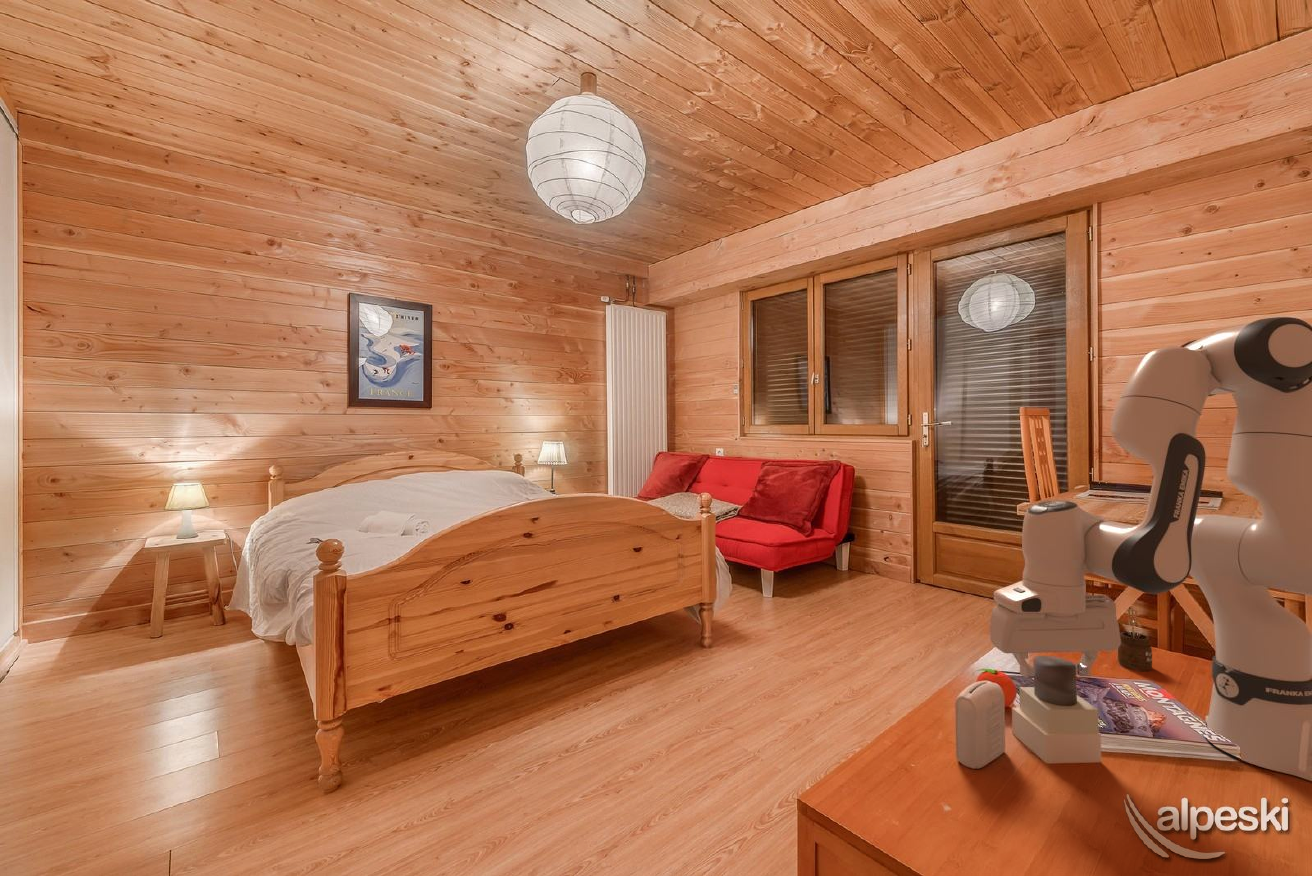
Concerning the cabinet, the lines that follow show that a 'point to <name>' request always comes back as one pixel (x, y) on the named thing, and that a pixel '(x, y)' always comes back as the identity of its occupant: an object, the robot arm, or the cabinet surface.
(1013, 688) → the clementine
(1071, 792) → the cabinet surface
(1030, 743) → the tower bottom block
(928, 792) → the cabinet surface
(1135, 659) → the utensil holder
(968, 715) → the photo printer
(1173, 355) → the robot arm
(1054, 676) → the charcoal cylinder
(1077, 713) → the tower top block
